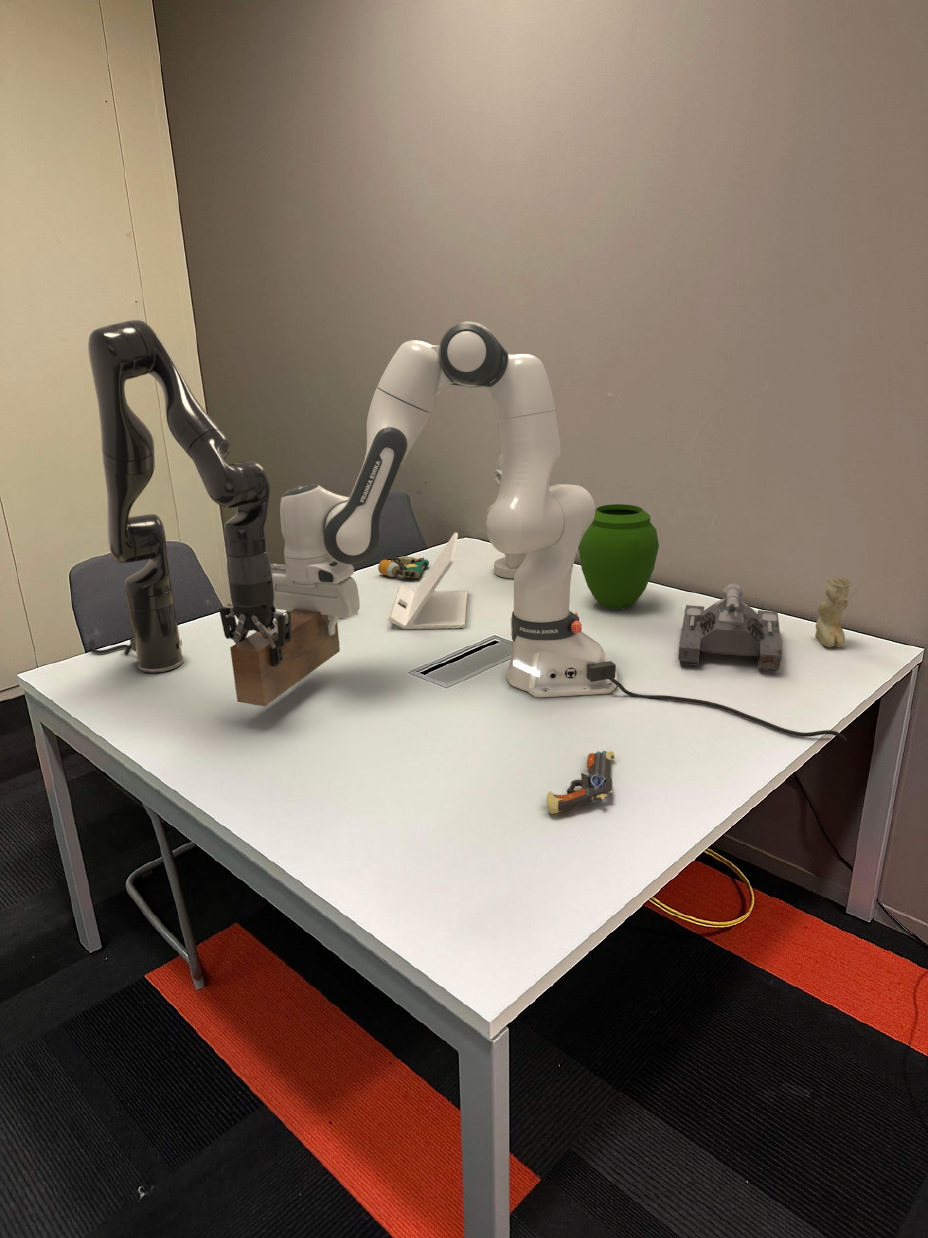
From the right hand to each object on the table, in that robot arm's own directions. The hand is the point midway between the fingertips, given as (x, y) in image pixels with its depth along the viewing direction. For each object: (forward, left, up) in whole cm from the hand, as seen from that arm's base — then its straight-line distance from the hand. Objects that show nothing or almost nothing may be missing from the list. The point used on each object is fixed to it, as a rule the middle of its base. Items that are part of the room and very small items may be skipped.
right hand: (314, 632), depth 173 cm
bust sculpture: (-39, -72, -11) cm, 82 cm away
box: (+3, +9, -6) cm, 11 cm away
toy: (-86, -21, -11) cm, 89 cm away
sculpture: (-108, -25, -11) cm, 111 cm away
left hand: (+5, +18, +1) cm, 19 cm away
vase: (-63, -49, -11) cm, 80 cm away
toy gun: (-54, +37, -11) cm, 66 cm away
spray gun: (-5, -74, -11) cm, 75 cm away
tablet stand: (-17, -42, -11) cm, 47 cm away
